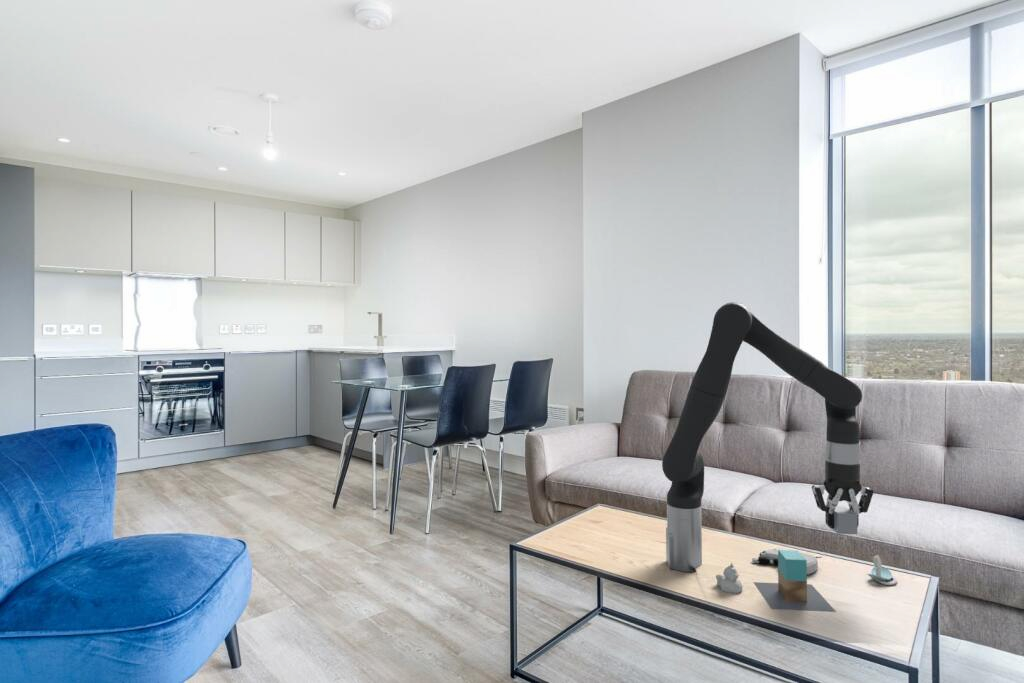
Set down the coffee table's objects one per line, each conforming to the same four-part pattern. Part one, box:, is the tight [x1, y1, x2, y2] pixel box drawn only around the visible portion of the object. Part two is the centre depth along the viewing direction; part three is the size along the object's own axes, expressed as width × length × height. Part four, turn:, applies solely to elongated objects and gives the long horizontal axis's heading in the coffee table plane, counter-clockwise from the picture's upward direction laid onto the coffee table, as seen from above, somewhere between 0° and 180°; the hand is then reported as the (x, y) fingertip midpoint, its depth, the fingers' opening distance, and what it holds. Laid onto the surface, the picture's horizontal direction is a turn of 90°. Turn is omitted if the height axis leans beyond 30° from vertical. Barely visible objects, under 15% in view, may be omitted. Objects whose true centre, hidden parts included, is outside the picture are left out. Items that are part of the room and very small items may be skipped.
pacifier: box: [867, 554, 898, 586], centre depth 146 cm, size 7×6×6 cm
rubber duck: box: [715, 562, 743, 594], centre depth 140 cm, size 5×7×8 cm
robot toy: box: [751, 548, 823, 576], centre depth 154 cm, size 12×4×15 cm
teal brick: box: [777, 549, 808, 582], centre depth 136 cm, size 4×6×5 cm
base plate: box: [753, 581, 837, 613], centre depth 136 cm, size 14×14×1 cm
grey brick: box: [826, 505, 858, 535], centre depth 140 cm, size 4×6×5 cm
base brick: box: [777, 569, 808, 602], centre depth 136 cm, size 4×6×5 cm
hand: (841, 527), depth 140 cm, fingers closed on grey brick, 4 cm apart
